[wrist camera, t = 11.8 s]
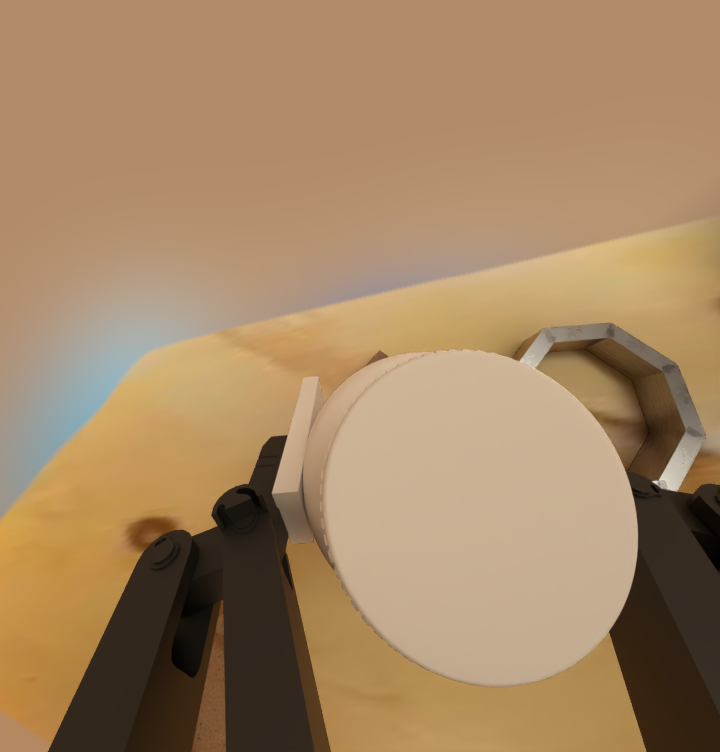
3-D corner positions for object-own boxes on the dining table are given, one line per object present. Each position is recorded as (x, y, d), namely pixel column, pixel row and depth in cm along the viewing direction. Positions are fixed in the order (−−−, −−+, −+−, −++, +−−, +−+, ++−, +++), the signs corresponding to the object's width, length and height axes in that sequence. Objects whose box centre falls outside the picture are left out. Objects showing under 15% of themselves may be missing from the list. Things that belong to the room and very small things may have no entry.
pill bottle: (314, 465, 19) (141, 537, 4) (382, 379, 20) (425, 214, 6) (405, 543, 17) (604, 1043, 3) (470, 445, 19) (819, 449, 4)
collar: (688, 401, 26) (728, 396, 23) (612, 535, 24) (647, 548, 21) (547, 310, 29) (568, 295, 26) (465, 420, 26) (477, 417, 24)
